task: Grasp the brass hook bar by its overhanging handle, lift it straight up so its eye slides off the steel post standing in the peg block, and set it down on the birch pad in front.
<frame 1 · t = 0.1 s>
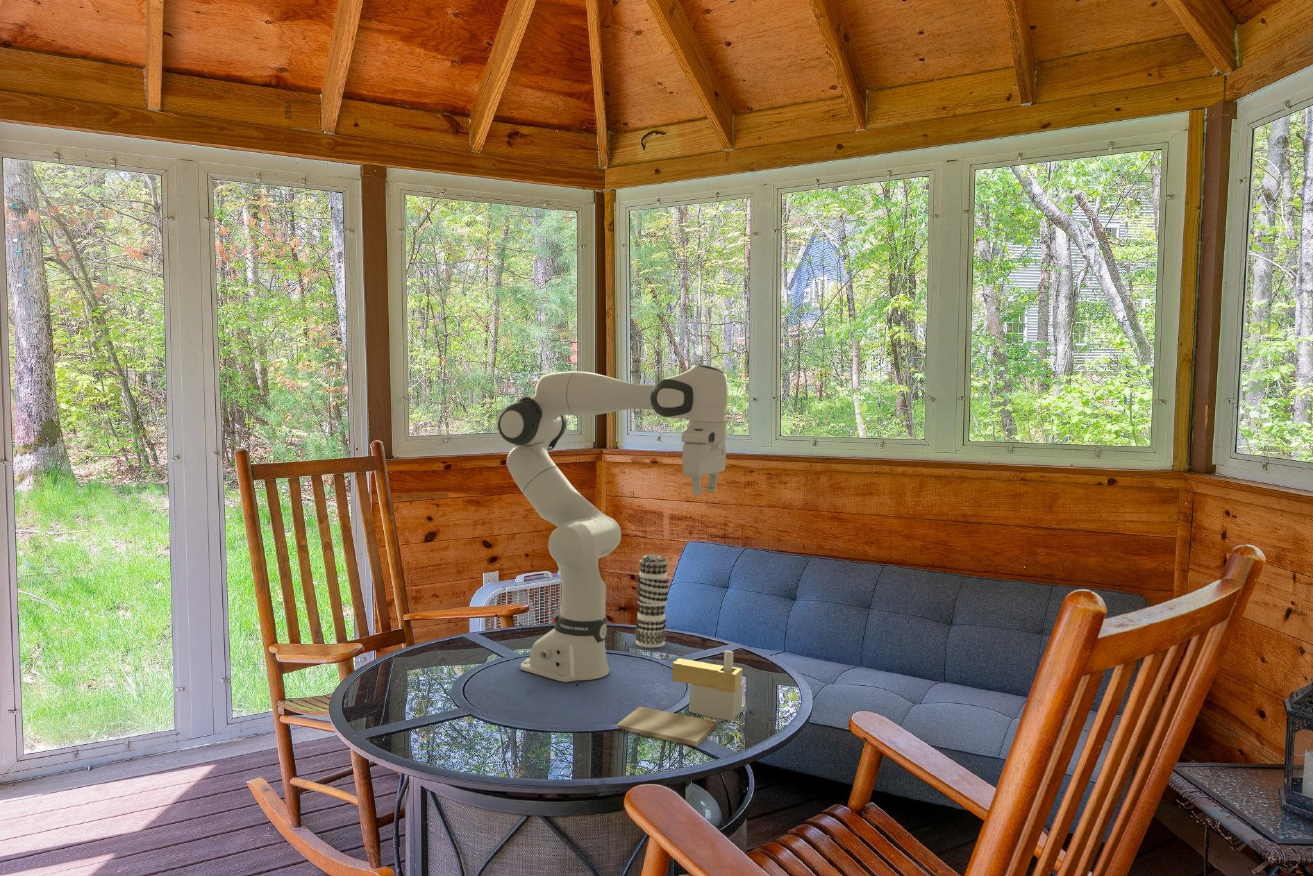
hand: (704, 493, 200), 48 cm above the table, tool pointing down, fingers open, 8 cm apart
birch pad: (666, 727, 180), on the table
brass hook bar: (716, 685, 190), point 6 cm above the table, touching peg block
decorative candle: (649, 644, 242), on the table
peg block: (715, 711, 191), on the table
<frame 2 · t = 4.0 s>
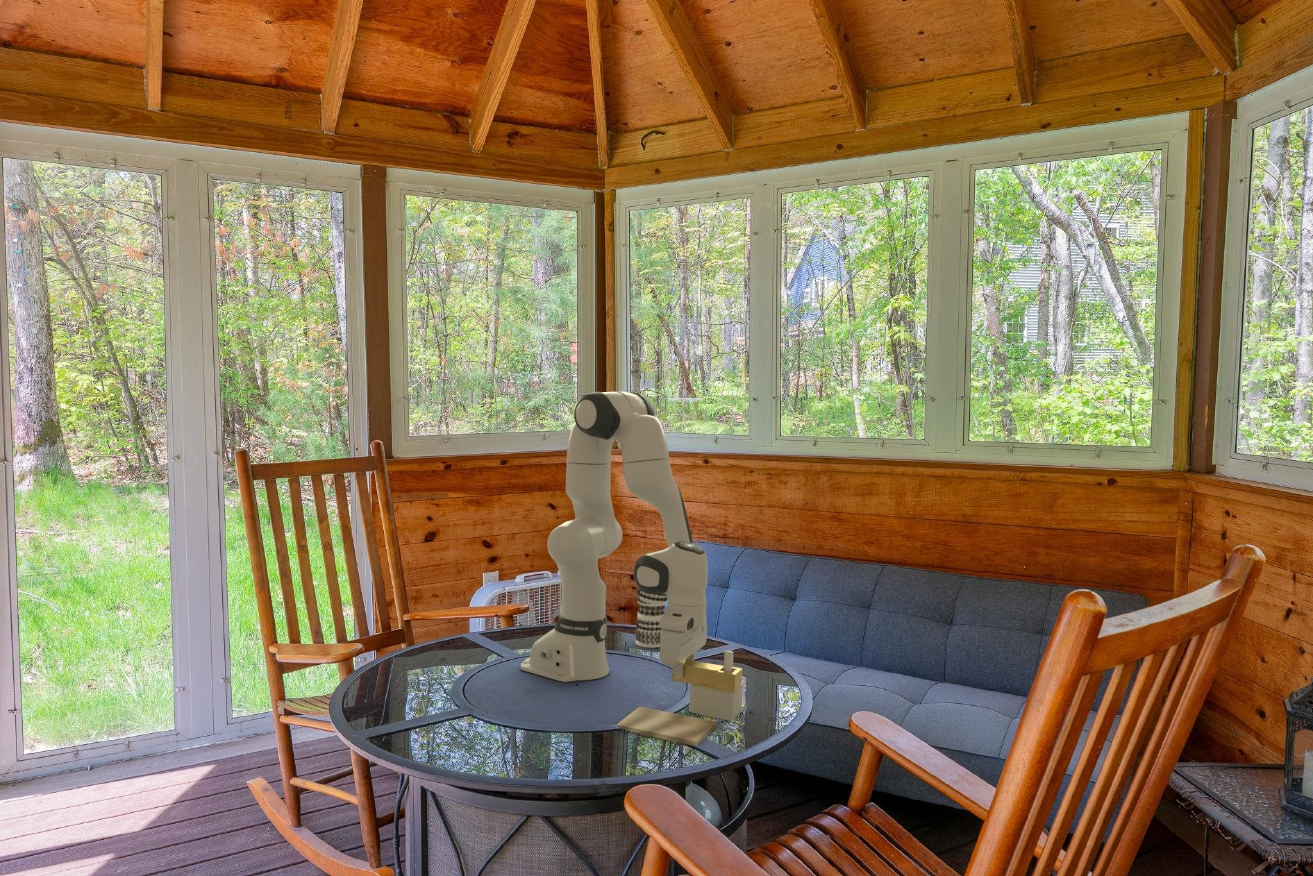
hand: (683, 674, 193), 7 cm above the table, tool pointing down, fingers closed on brass hook bar, 4 cm apart
brass hook bar: (716, 685, 190), point 6 cm above the table, touching gripper, peg block
everything else where it was.
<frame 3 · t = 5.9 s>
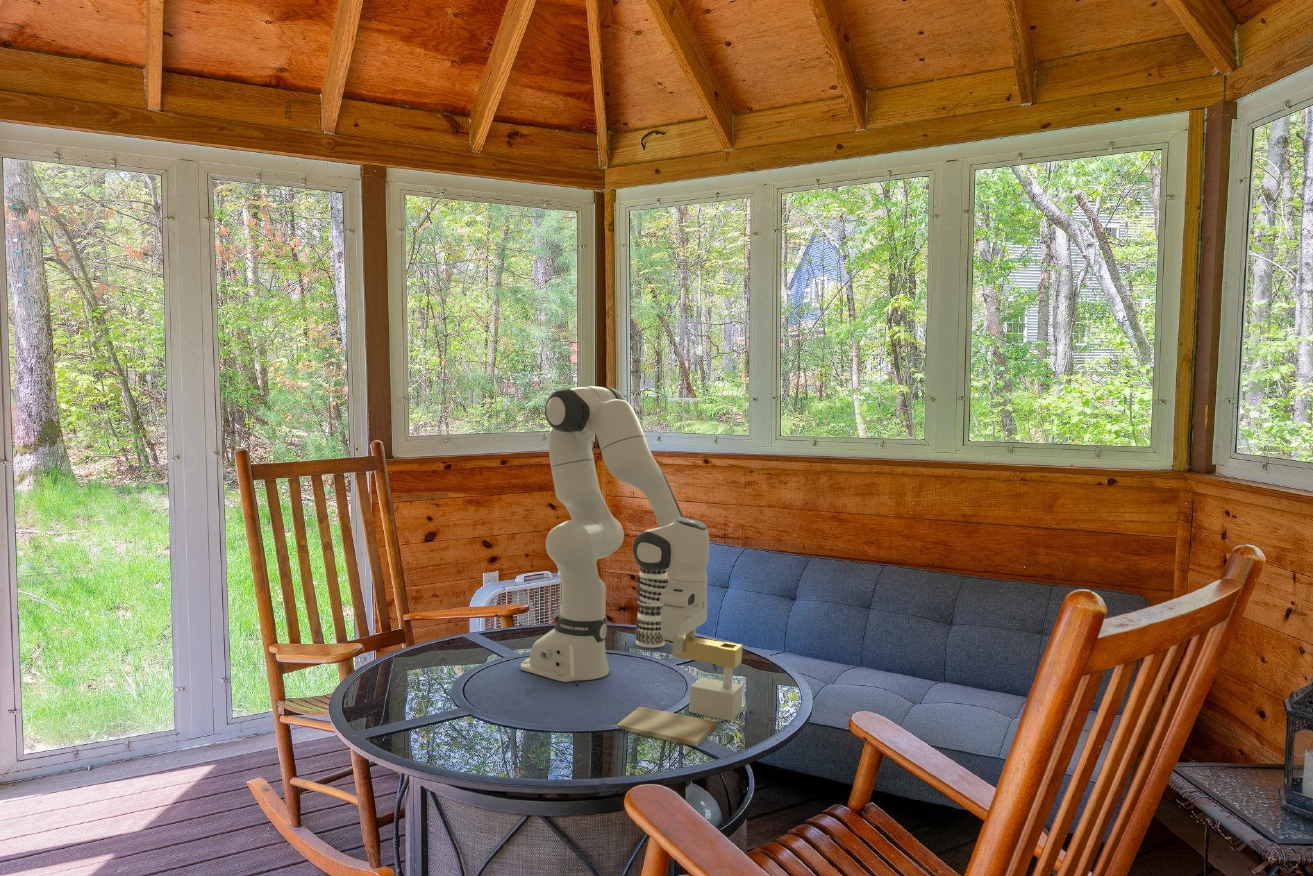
hand: (683, 650, 193), 13 cm above the table, tool pointing down, fingers closed on brass hook bar, 4 cm apart
brass hook bar: (716, 661, 190), point 11 cm above the table, touching gripper
everything else where it was.
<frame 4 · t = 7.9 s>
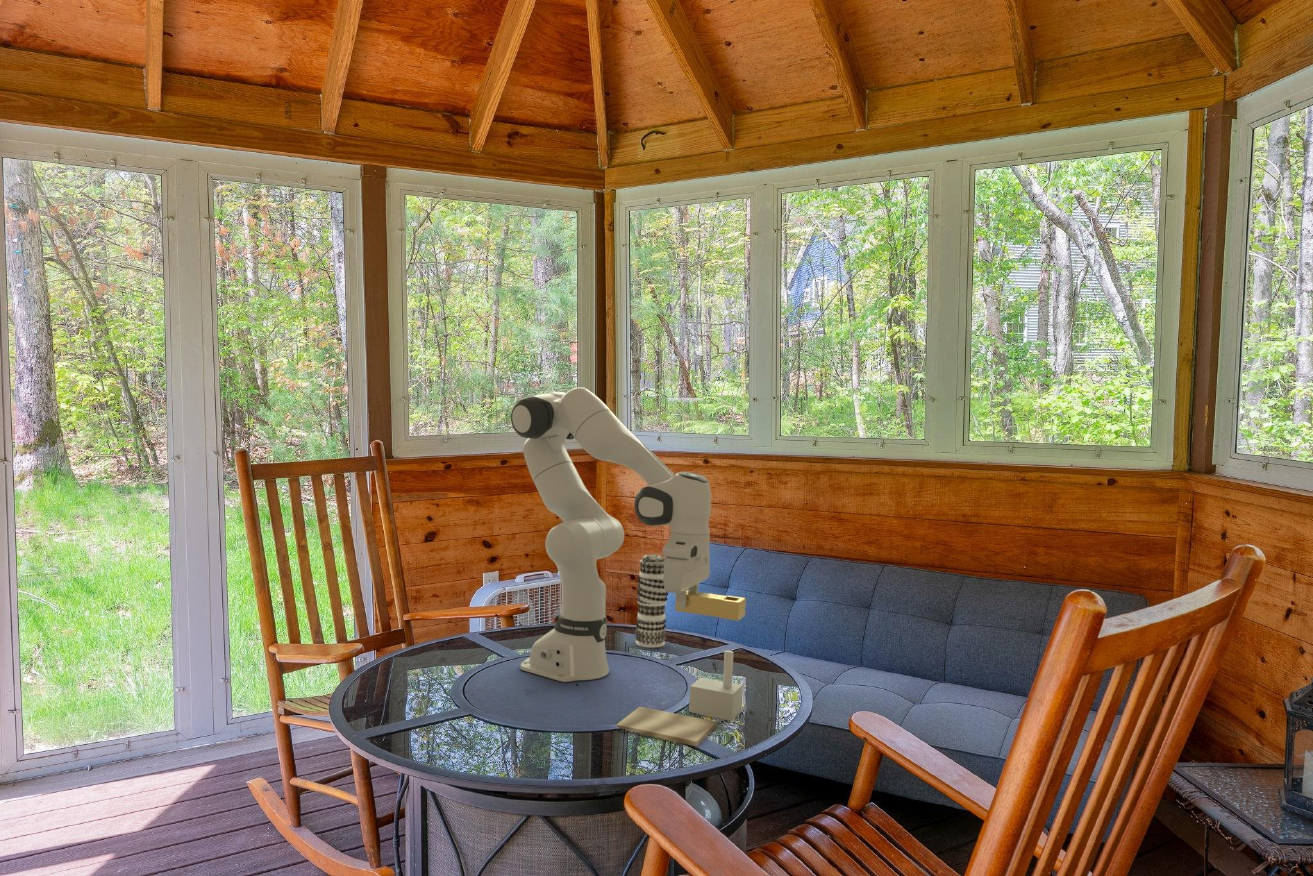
hand: (686, 605, 193), 23 cm above the table, tool pointing down, fingers closed on brass hook bar, 4 cm apart
brass hook bar: (720, 615, 190), point 22 cm above the table, touching gripper
everything else where it was.
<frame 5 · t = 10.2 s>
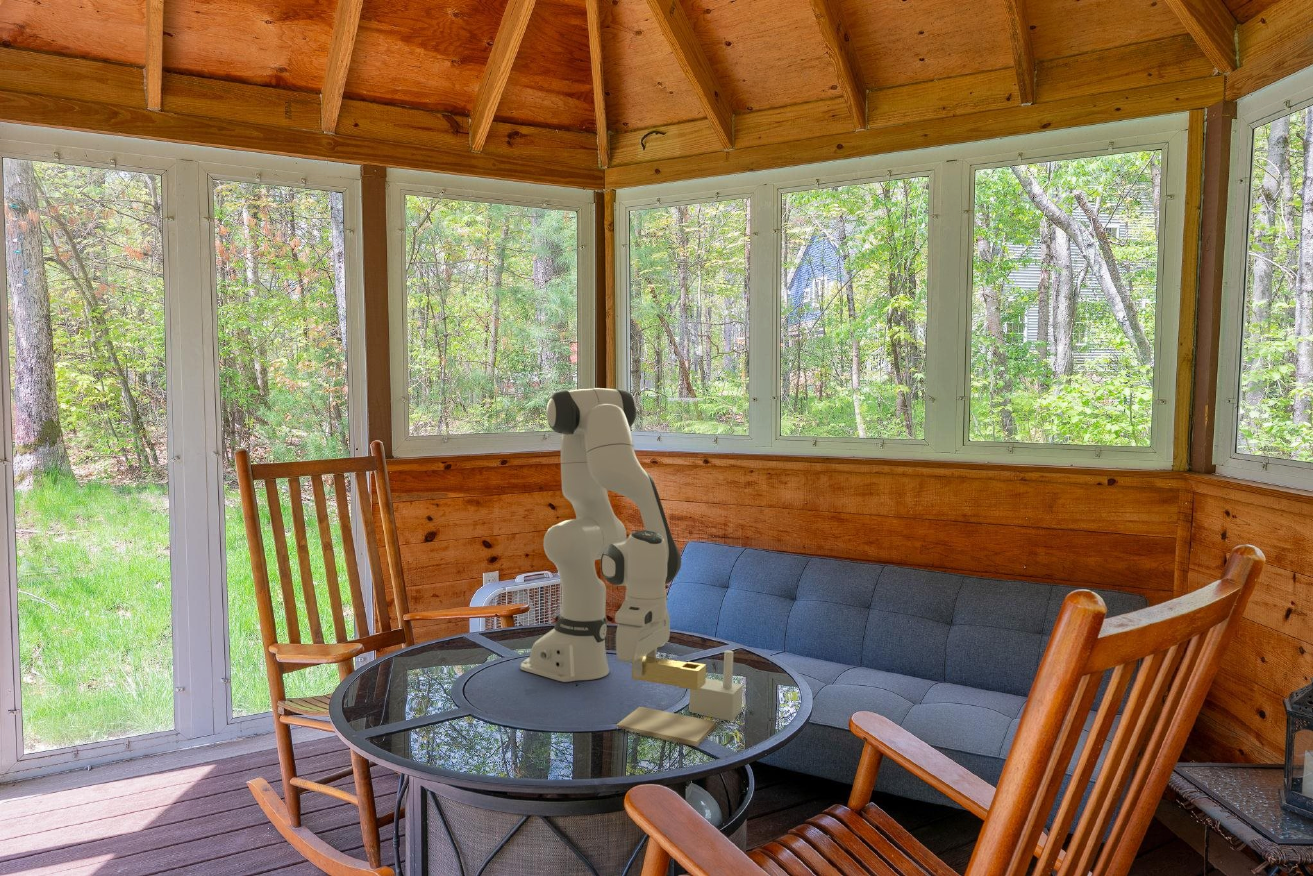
hand: (643, 672, 182), 11 cm above the table, tool pointing down, fingers closed on brass hook bar, 4 cm apart
brass hook bar: (679, 683, 178), point 10 cm above the table, touching gripper
everything else where it was.
when the fingers open (4 cm above the table, at t = 12.1 s): brass hook bar drops 1 cm, resting on birch pad.
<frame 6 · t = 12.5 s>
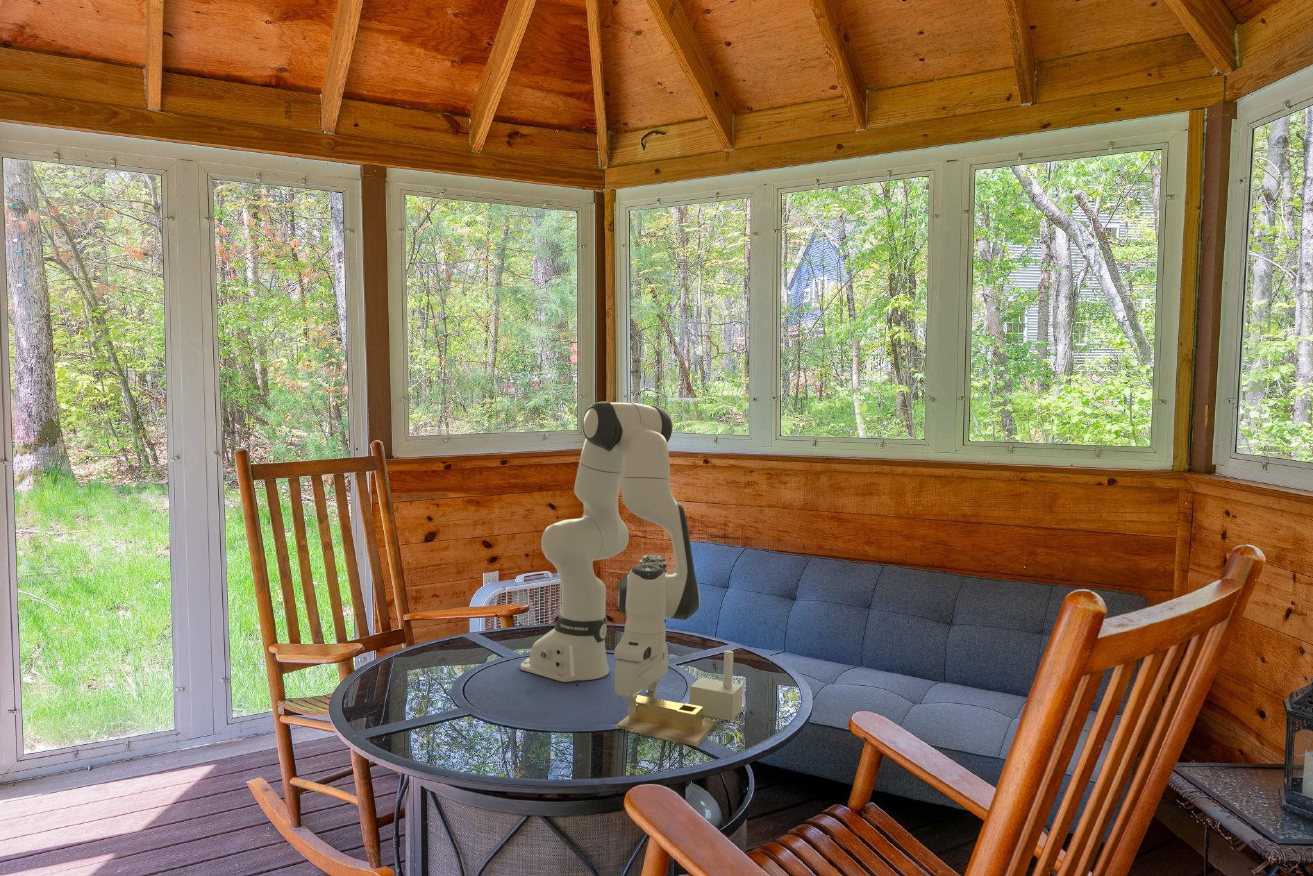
hand: (641, 705, 182), 4 cm above the table, tool pointing down, fingers open, 8 cm apart
brass hook bar: (675, 724, 179), point 1 cm above the table, touching birch pad
everything else where it was.
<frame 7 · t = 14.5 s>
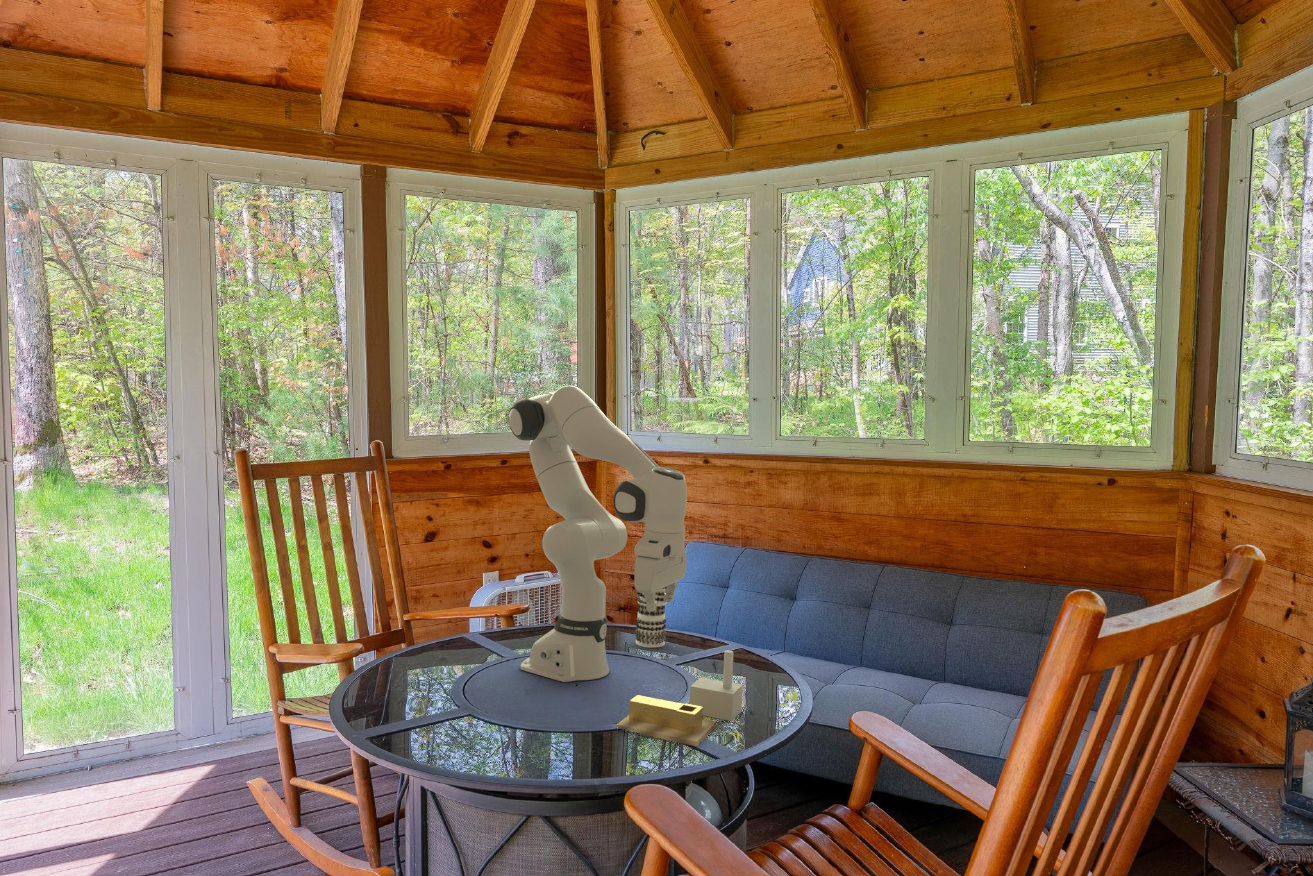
hand: (660, 605, 186), 24 cm above the table, tool pointing down, fingers open, 8 cm apart
nothing on the table moved.
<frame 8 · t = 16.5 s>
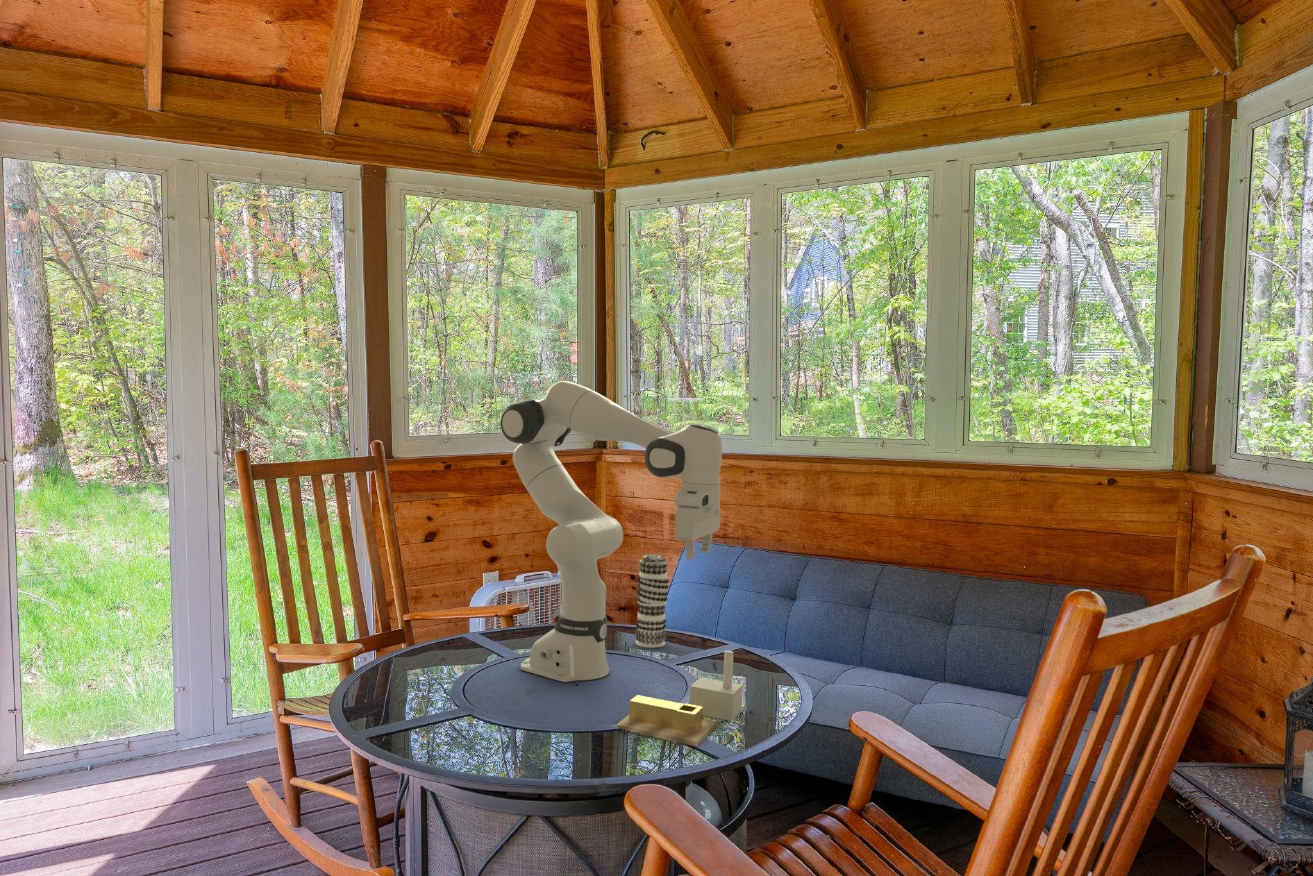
hand: (697, 555, 195), 34 cm above the table, tool pointing down, fingers open, 8 cm apart
nothing on the table moved.
at the end: brass hook bar inside the target area on the birch pad (2.0 cm from its centre), point 1.0 cm above the birch pad's base; brass hook bar touching birch pad; brass hook bar tilted 0° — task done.
